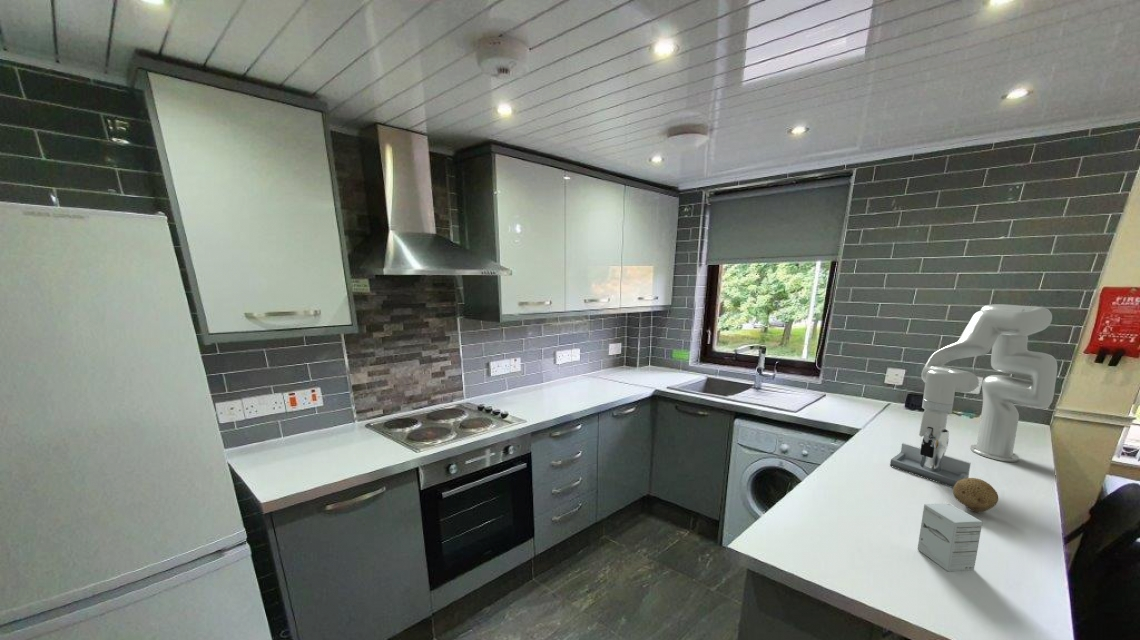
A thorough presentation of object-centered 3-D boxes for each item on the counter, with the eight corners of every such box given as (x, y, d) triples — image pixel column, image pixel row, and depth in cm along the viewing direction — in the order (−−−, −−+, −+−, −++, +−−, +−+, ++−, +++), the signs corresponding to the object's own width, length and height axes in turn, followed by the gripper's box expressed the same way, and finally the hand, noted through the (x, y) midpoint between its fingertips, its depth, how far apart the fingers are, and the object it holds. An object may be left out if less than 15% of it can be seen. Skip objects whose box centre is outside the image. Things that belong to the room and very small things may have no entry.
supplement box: (915, 549, 95) (922, 503, 94) (942, 548, 96) (949, 501, 94) (947, 572, 88) (954, 522, 86) (976, 571, 88) (984, 521, 87)
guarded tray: (901, 457, 144) (903, 442, 143) (968, 478, 129) (970, 462, 129) (890, 465, 138) (892, 450, 137) (959, 489, 123) (961, 472, 122)
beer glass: (949, 475, 130) (955, 433, 128) (925, 472, 131) (931, 431, 129) (934, 465, 136) (940, 425, 135) (912, 463, 138) (917, 423, 136)
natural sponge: (981, 523, 106) (986, 489, 105) (943, 504, 114) (947, 473, 113) (1002, 518, 108) (1007, 485, 107) (963, 500, 117) (968, 469, 116)
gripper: (930, 398, 138) (924, 442, 140) (914, 407, 129) (908, 454, 131) (958, 404, 132) (952, 450, 134) (945, 414, 123) (938, 463, 125)
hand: (930, 452), depth 133 cm, fingers open, 9 cm apart
